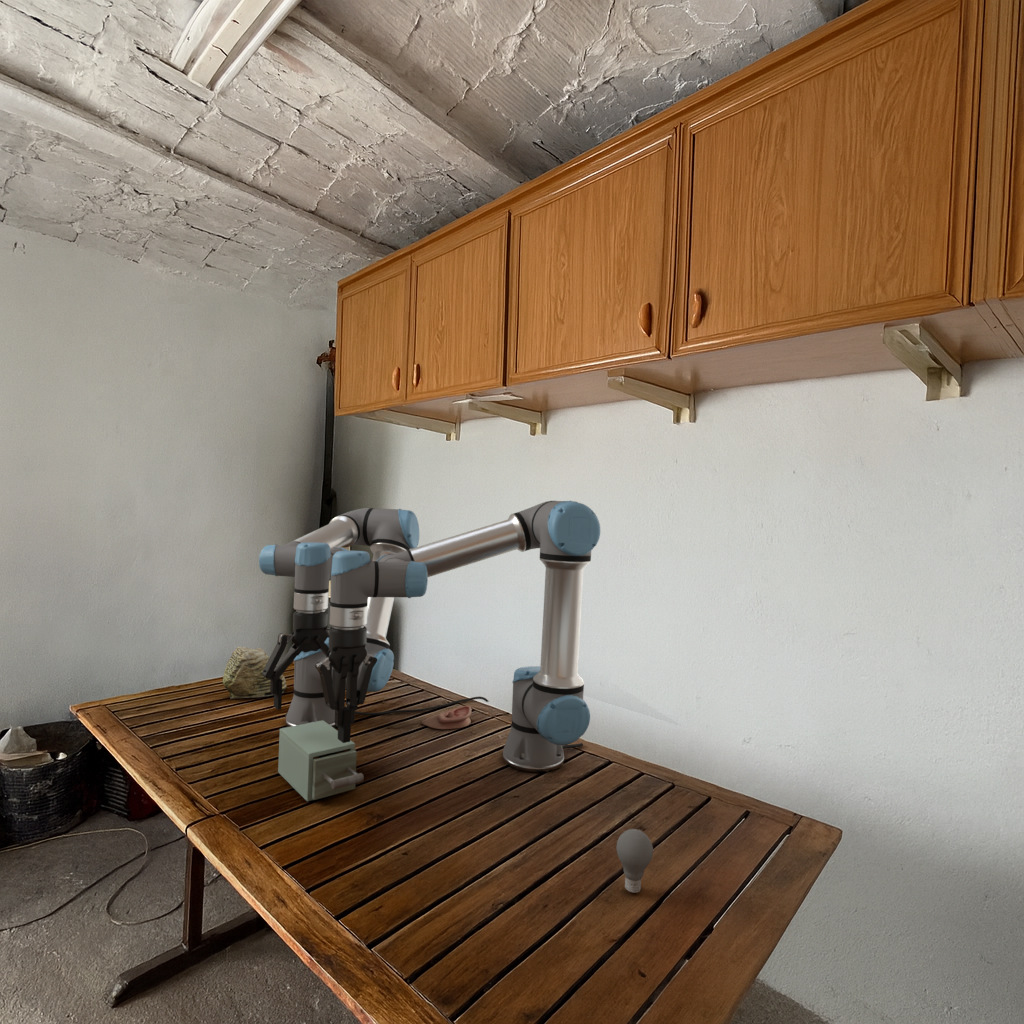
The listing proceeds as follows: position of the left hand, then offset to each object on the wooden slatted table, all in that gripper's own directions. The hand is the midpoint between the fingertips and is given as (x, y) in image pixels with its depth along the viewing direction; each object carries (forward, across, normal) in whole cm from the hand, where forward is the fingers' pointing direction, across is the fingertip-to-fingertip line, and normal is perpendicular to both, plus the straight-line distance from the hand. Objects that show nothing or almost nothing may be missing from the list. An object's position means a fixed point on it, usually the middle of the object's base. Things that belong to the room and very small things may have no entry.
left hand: (307, 702), depth 145 cm
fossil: (+16, +8, +62) cm, 64 cm away
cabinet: (+16, 0, -5) cm, 17 cm away
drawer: (+15, 0, -11) cm, 19 cm away
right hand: (+2, 0, -19) cm, 19 cm away
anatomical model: (+16, +45, +9) cm, 48 cm away
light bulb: (+16, +27, -74) cm, 80 cm away
